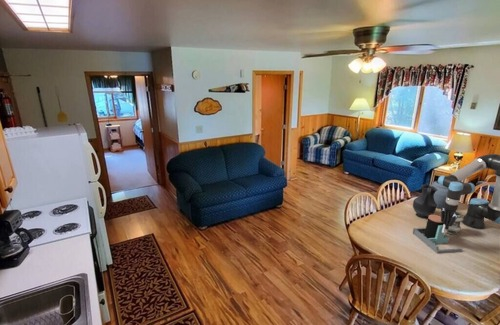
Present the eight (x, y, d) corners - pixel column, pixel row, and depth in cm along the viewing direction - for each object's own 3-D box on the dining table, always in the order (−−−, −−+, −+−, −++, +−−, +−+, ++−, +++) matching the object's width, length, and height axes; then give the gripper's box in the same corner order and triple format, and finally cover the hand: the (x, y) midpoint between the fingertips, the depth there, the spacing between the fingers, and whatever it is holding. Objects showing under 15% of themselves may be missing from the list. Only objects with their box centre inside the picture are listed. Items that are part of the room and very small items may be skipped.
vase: (430, 210, 251) (436, 186, 243) (421, 201, 269) (426, 178, 261) (453, 212, 248) (460, 187, 240) (443, 202, 266) (449, 179, 258)
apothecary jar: (439, 232, 216) (444, 212, 210) (442, 226, 224) (447, 207, 218) (458, 238, 208) (463, 218, 202) (460, 232, 216) (465, 212, 211)
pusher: (446, 241, 204) (451, 224, 199) (448, 242, 202) (453, 225, 198) (427, 243, 202) (431, 225, 197) (428, 244, 201) (433, 227, 196)
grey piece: (435, 231, 217) (436, 227, 215) (461, 251, 193) (463, 246, 192) (412, 233, 215) (413, 228, 213) (436, 253, 191) (438, 248, 190)
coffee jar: (442, 243, 202) (448, 222, 196) (426, 241, 204) (432, 220, 198) (436, 235, 212) (441, 215, 206) (421, 233, 214) (426, 213, 208)
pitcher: (433, 214, 243) (440, 184, 234) (433, 225, 226) (441, 192, 217) (411, 209, 252) (417, 180, 242) (410, 219, 235) (416, 188, 226)
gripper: (439, 199, 194) (432, 227, 202) (454, 207, 182) (446, 237, 190) (449, 198, 195) (441, 227, 203) (464, 207, 183) (456, 237, 190)
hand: (444, 232), depth 196 cm, fingers closed
